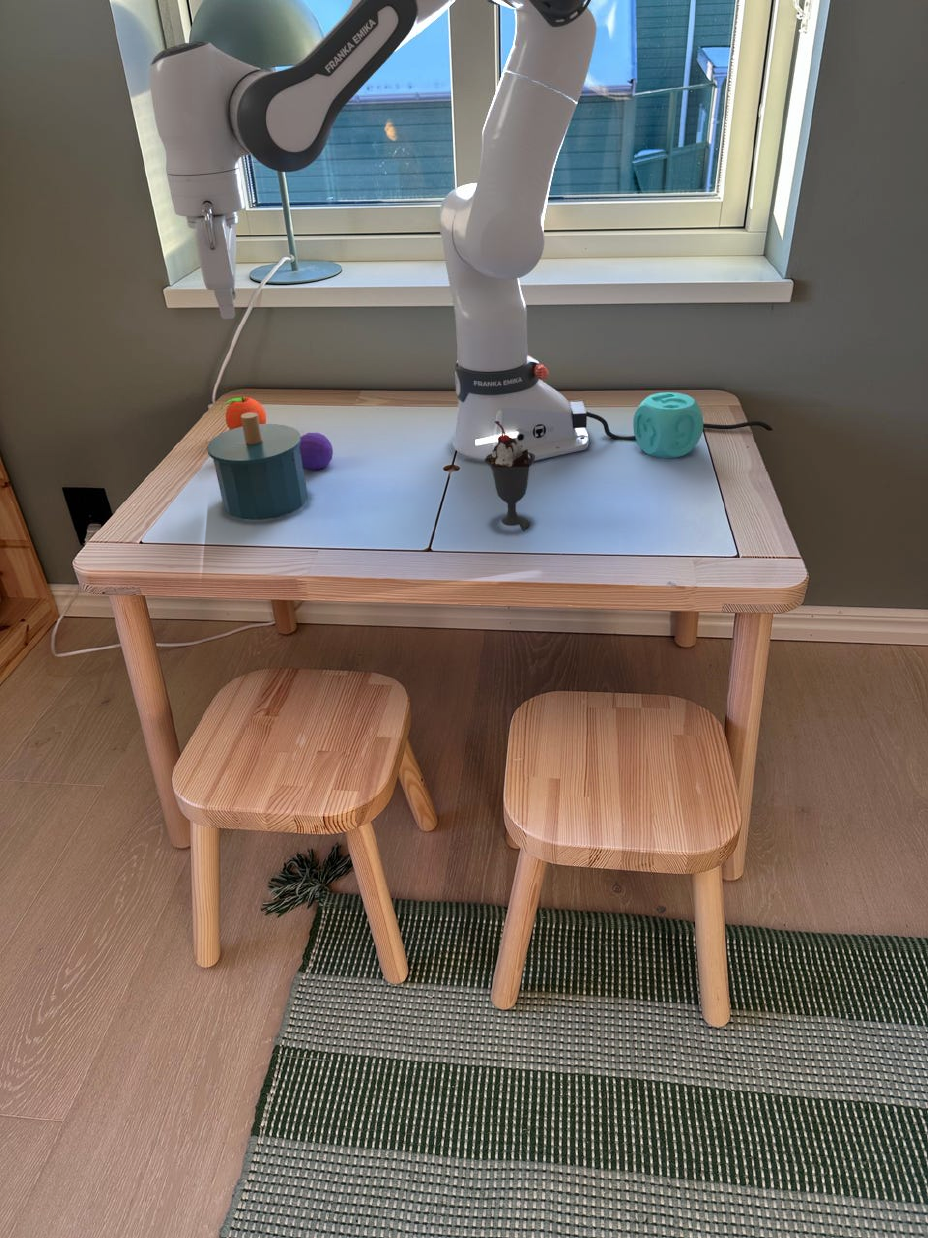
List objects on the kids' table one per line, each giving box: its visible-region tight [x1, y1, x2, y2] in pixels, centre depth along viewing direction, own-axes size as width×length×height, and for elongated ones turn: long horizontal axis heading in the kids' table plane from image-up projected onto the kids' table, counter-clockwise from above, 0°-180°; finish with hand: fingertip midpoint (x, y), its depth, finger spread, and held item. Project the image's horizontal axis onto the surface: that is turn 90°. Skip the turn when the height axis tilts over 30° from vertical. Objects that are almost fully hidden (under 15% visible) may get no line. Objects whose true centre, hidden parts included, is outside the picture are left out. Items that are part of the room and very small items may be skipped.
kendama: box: [299, 432, 334, 471], centre depth 149 cm, size 6×6×20 cm
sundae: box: [484, 421, 535, 531], centre depth 125 cm, size 7×7×15 cm
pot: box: [212, 446, 308, 521], centre depth 136 cm, size 12×12×10 cm
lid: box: [207, 412, 302, 464], centre depth 132 cm, size 13×13×5 cm
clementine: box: [220, 396, 267, 430], centre depth 159 cm, size 8×7×7 cm
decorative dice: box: [632, 391, 704, 459], centre depth 146 cm, size 8×8×8 cm
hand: (229, 307), depth 122 cm, fingers open, 8 cm apart
